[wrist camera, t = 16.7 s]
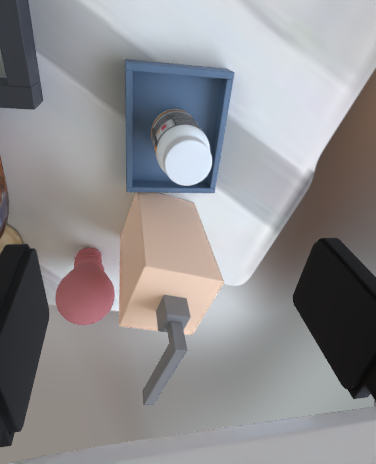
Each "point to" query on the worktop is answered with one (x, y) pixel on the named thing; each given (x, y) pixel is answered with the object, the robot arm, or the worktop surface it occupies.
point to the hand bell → (9, 237)
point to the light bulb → (85, 290)
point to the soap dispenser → (165, 276)
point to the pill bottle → (181, 147)
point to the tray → (165, 98)
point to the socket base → (18, 57)
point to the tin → (3, 202)
